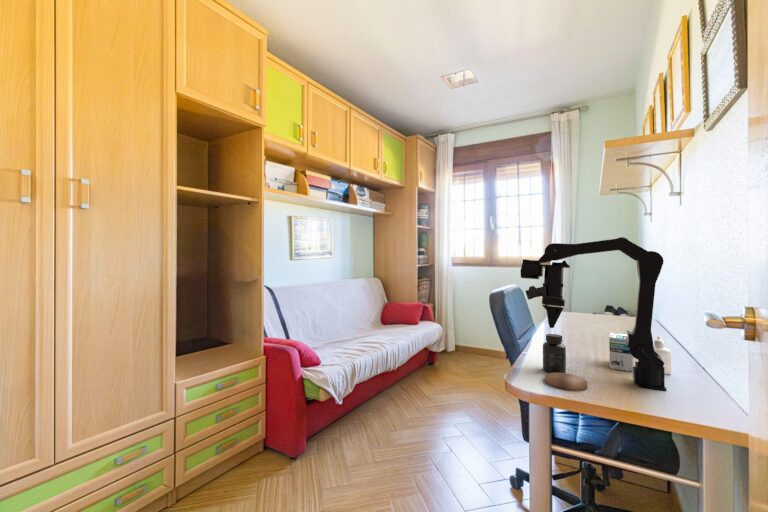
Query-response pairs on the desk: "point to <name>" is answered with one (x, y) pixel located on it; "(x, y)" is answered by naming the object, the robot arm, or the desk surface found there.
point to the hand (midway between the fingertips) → (550, 326)
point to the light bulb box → (620, 352)
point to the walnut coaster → (566, 381)
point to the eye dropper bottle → (663, 354)
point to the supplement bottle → (554, 354)
